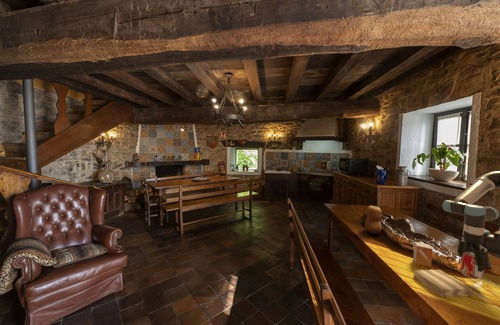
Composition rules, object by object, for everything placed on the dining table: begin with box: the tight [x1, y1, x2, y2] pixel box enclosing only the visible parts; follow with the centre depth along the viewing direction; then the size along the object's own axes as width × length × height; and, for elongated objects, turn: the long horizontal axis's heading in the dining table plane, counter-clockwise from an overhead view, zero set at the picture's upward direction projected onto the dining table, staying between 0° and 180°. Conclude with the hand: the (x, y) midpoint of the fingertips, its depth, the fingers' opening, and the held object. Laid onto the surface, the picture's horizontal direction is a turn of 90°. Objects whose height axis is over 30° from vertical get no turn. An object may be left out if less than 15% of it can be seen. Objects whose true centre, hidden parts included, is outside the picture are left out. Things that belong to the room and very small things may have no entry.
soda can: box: [461, 251, 481, 280], centre depth 108 cm, size 7×7×13 cm
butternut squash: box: [364, 205, 383, 235], centre depth 176 cm, size 14×13×25 cm
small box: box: [412, 241, 434, 269], centre depth 128 cm, size 8×6×13 cm
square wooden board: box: [413, 269, 472, 298], centre depth 107 cm, size 16×16×4 cm
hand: (470, 271), depth 108 cm, fingers closed on soda can, 7 cm apart
